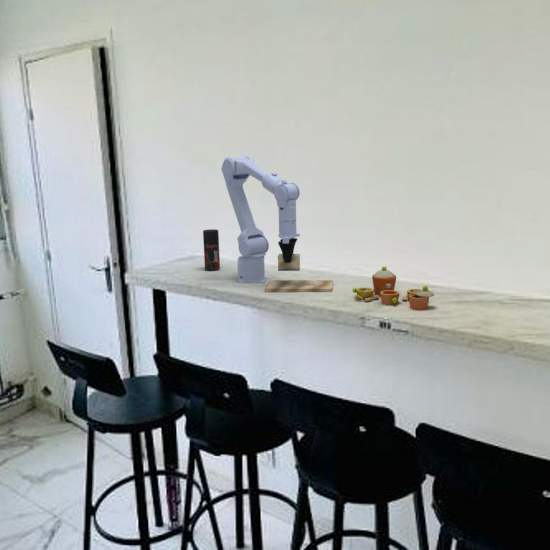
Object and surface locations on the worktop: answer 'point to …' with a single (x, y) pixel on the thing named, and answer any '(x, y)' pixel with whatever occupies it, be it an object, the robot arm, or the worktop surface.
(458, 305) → the worktop surface
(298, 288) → the board
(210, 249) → the deodorant
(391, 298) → the toy tea set
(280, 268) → the block
